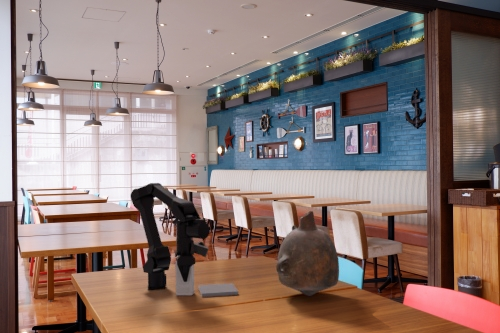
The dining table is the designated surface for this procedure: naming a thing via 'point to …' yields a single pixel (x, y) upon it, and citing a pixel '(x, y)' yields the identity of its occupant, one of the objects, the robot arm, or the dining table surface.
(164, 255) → the robot arm
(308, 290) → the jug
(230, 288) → the slate tile
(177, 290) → the skincare box
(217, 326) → the dining table surface
